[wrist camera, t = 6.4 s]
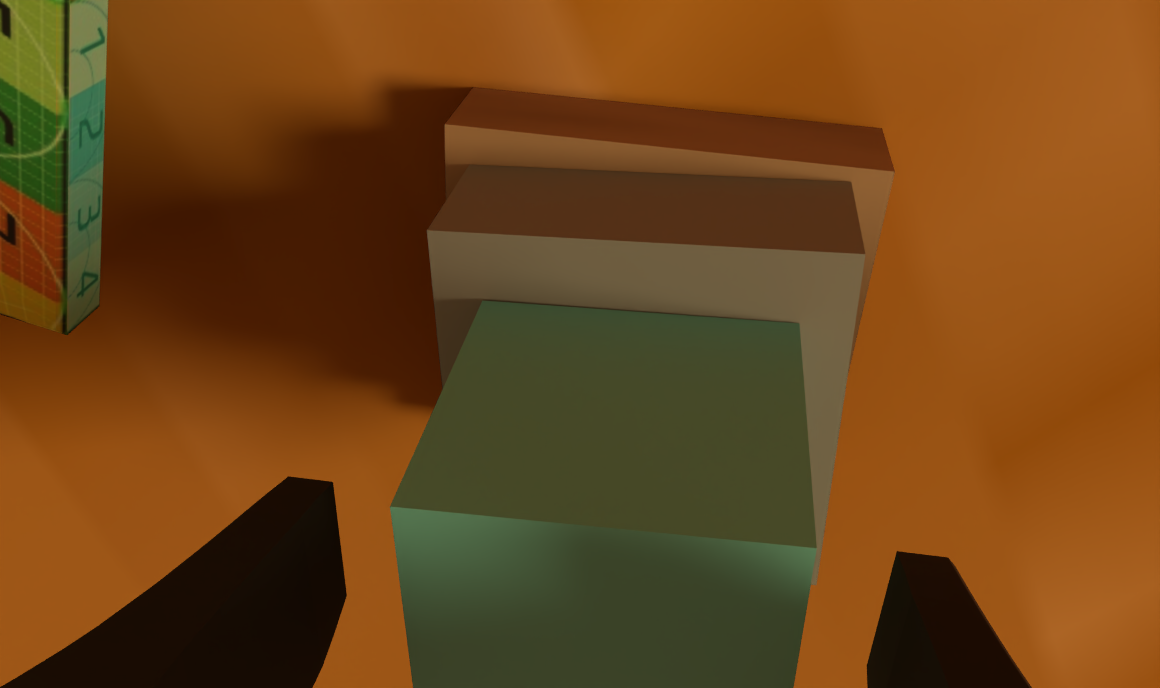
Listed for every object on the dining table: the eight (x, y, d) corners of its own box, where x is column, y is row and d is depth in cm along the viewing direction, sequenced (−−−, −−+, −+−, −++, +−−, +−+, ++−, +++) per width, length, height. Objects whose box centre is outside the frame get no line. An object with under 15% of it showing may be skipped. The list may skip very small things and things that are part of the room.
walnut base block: (808, 441, 21) (813, 520, 19) (479, 397, 22) (450, 470, 20) (878, 117, 18) (894, 171, 16) (481, 77, 18) (444, 123, 16)
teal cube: (767, 560, 17) (771, 813, 13) (495, 533, 17) (423, 768, 13) (799, 323, 14) (817, 548, 10) (482, 300, 15) (389, 506, 11)
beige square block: (810, 487, 19) (815, 584, 17) (490, 460, 20) (458, 550, 17) (851, 181, 16) (865, 254, 14) (469, 164, 16) (426, 230, 14)
